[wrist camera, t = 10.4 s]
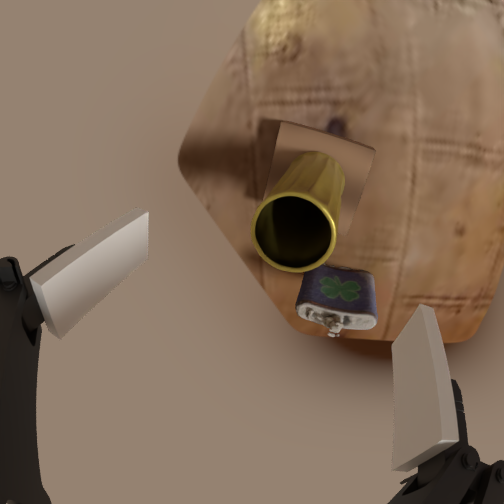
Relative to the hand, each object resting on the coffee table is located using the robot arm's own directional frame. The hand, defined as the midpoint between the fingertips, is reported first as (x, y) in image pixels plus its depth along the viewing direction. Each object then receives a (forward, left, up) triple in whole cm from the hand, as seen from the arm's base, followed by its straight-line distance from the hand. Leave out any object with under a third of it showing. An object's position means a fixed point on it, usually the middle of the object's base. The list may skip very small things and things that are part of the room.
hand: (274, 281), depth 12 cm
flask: (+12, +7, -23) cm, 26 cm away
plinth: (0, 0, -22) cm, 22 cm away
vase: (0, 0, -20) cm, 20 cm away
